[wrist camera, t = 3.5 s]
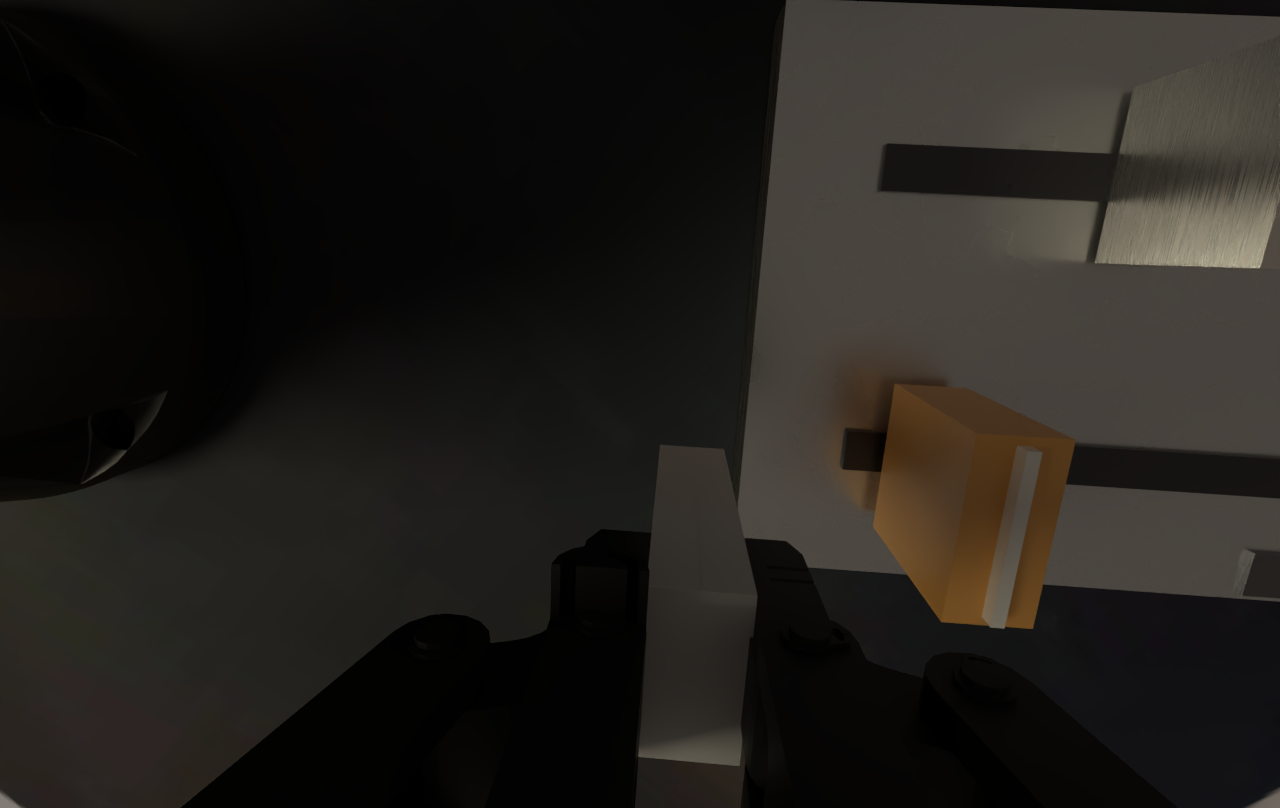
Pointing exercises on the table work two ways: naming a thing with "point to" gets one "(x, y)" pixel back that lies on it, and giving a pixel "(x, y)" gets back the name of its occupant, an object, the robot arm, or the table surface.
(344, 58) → the table surface
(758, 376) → the console
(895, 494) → the fader
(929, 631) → the table surface
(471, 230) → the table surface
